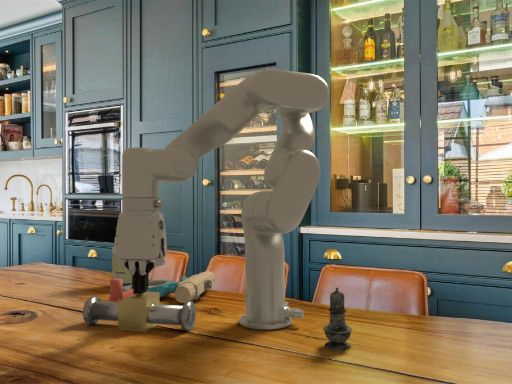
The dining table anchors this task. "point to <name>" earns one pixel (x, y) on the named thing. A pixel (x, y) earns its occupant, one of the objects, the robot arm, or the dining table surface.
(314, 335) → the dining table surface
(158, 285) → the butterfly valve
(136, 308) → the valve body
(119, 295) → the lever
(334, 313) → the salt shaker
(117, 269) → the supplement tub
